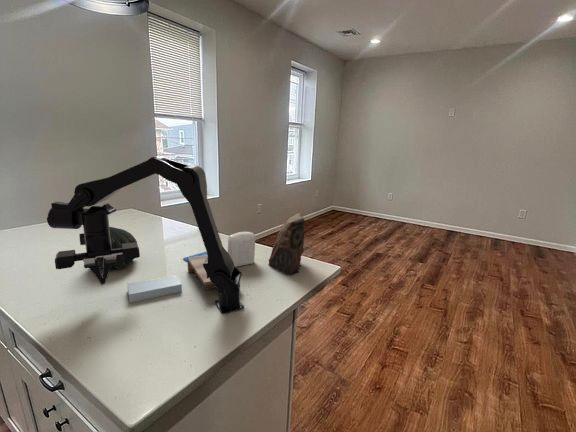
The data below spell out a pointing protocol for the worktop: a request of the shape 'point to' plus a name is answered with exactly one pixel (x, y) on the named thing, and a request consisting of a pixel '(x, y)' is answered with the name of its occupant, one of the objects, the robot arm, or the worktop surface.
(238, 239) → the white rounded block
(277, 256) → the owl
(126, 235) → the squash
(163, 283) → the pale blue eraser
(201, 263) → the tan cardboard box
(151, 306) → the worktop surface
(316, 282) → the worktop surface
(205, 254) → the handheld gaming device
